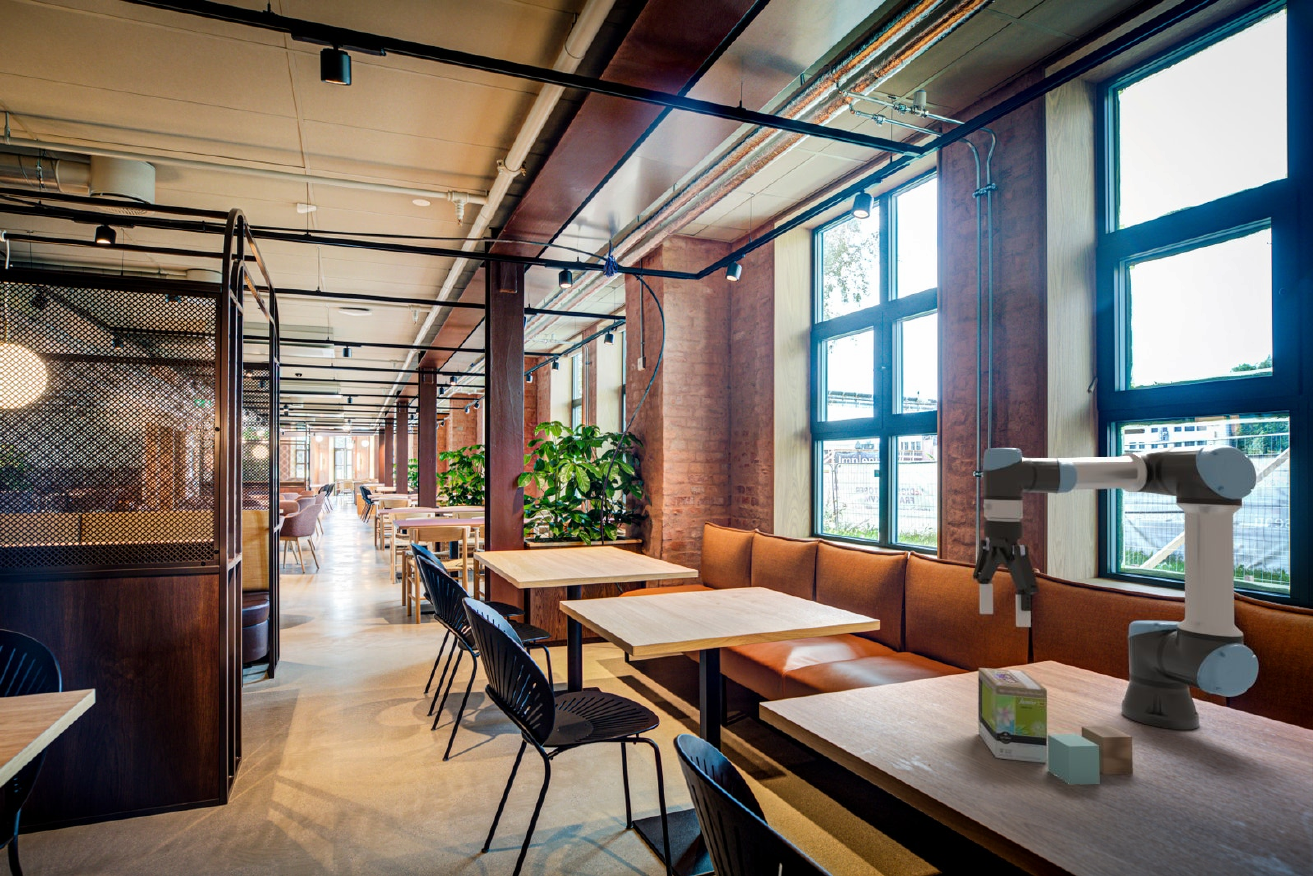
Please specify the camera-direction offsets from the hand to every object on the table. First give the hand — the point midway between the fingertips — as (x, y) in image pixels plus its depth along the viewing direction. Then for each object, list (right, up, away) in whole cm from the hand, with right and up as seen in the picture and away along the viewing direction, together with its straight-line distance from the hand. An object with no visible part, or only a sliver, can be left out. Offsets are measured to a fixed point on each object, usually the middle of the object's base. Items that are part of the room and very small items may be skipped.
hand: (1004, 620), depth 151 cm
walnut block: (+15, -26, -12) cm, 32 cm away
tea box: (+1, -27, -2) cm, 27 cm away
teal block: (+5, -26, -17) cm, 31 cm away
